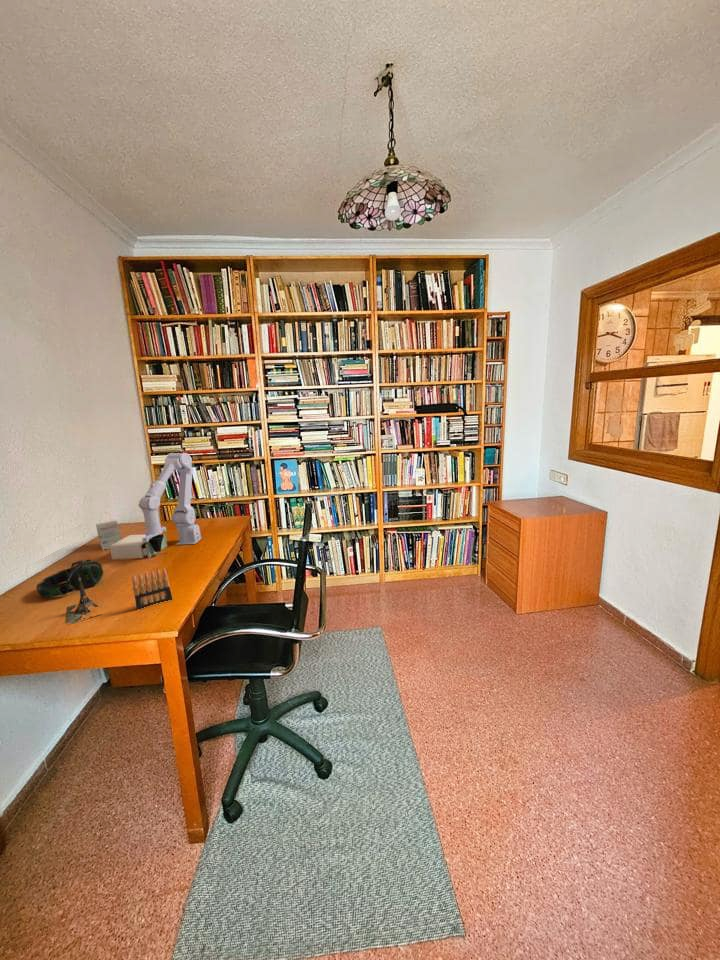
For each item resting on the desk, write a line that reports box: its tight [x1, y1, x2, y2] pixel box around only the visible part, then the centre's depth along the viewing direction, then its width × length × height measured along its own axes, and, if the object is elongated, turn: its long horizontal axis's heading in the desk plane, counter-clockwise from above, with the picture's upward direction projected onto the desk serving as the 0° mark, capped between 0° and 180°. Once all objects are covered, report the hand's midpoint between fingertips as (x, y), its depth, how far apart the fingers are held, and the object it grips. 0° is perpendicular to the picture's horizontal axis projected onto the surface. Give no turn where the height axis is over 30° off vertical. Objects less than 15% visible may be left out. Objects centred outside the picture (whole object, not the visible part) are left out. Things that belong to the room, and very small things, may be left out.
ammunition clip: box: [131, 567, 173, 611], centre depth 123 cm, size 11×2×12 cm, turn 122°
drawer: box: [142, 533, 168, 559], centre depth 171 cm, size 14×14×6 cm
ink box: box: [95, 519, 122, 551], centre depth 182 cm, size 9×9×12 cm
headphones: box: [35, 559, 104, 599], centre depth 139 cm, size 13×13×20 cm
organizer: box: [109, 533, 146, 560], centre depth 171 cm, size 14×14×6 cm
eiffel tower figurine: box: [65, 577, 99, 624], centre depth 122 cm, size 15×10×13 cm
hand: (157, 551), depth 167 cm, fingers closed, pressing on drawer
